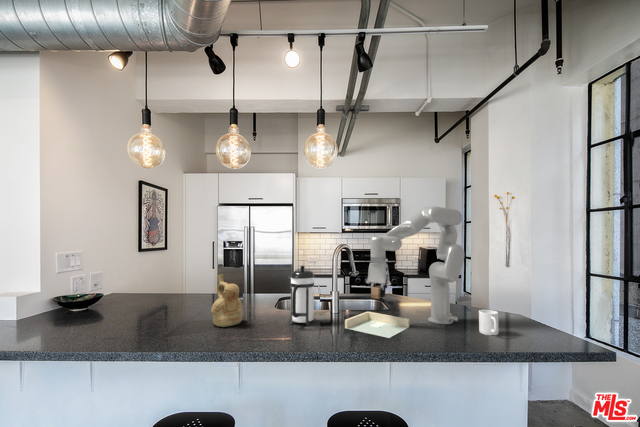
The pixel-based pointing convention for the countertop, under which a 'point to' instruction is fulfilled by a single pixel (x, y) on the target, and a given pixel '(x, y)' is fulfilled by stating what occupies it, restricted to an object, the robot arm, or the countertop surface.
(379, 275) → the robot arm
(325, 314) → the countertop surface
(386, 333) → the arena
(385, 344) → the countertop surface
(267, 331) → the countertop surface
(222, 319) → the ceramic vessel
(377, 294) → the copper block
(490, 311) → the cup
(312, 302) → the coffee press
